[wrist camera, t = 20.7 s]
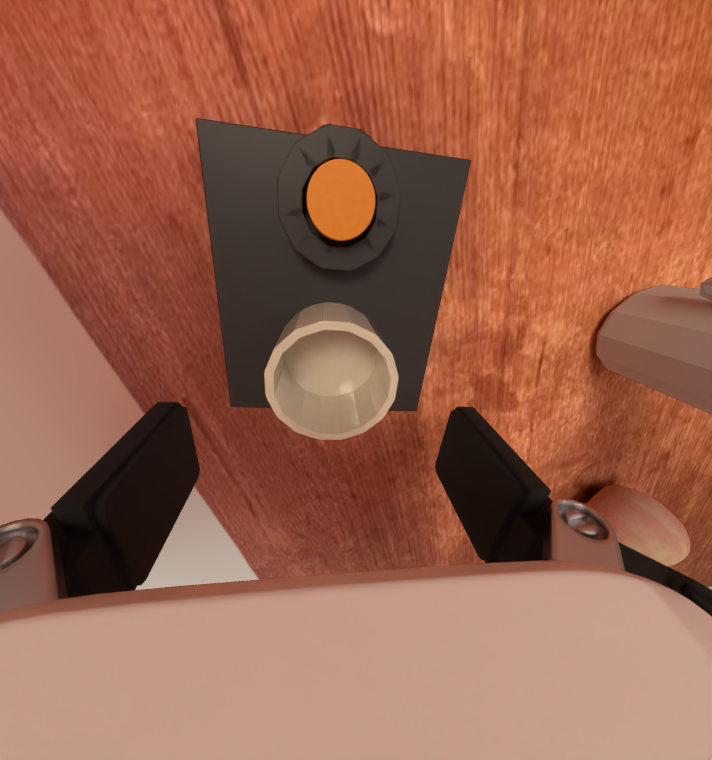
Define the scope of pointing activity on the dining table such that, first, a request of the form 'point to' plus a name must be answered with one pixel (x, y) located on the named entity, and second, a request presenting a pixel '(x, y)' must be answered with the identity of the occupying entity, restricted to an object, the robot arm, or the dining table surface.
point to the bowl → (330, 373)
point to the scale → (324, 245)
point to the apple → (642, 523)
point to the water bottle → (663, 342)
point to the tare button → (340, 199)
